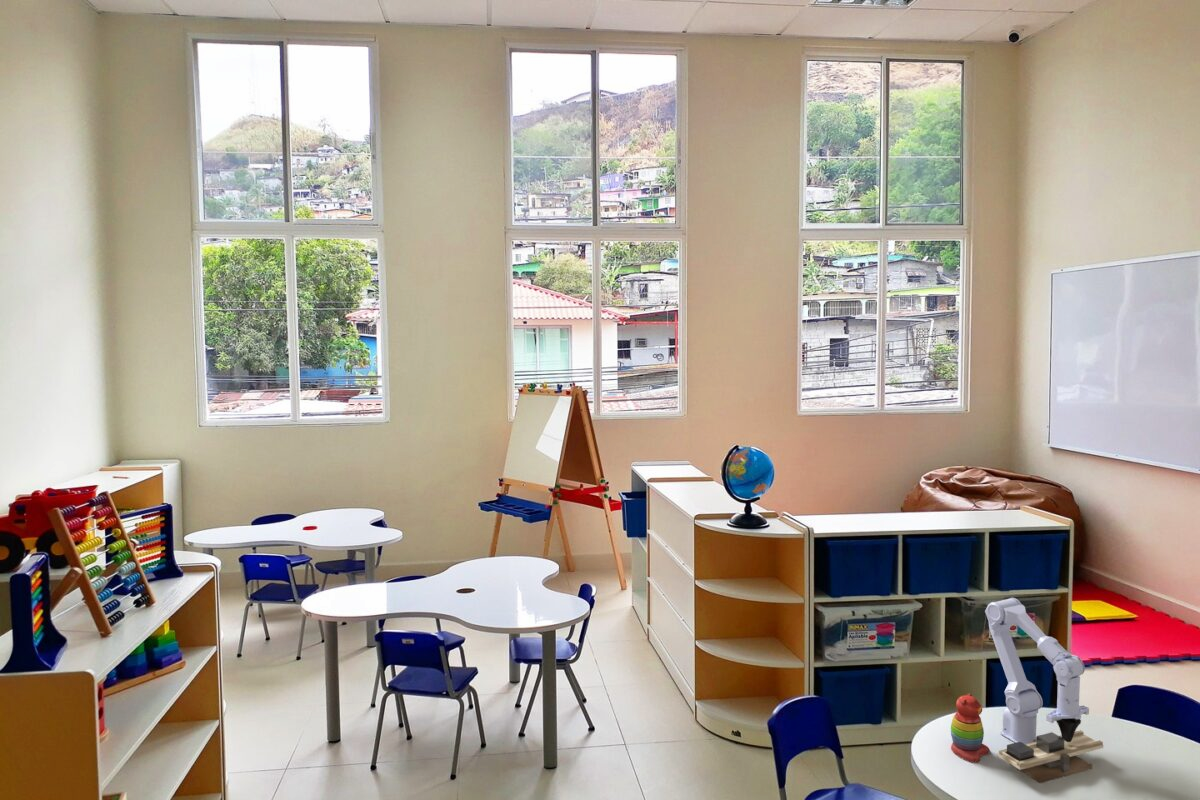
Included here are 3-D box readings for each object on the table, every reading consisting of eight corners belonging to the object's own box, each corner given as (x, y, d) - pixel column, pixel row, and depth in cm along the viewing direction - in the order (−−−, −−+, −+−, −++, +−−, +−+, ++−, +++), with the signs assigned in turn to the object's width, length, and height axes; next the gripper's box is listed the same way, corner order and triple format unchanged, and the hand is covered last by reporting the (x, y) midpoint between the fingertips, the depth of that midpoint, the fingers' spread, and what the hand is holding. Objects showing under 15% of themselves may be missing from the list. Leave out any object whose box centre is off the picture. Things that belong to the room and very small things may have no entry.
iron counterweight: (1006, 754, 250) (1006, 744, 250) (1019, 751, 252) (1020, 741, 252) (1020, 762, 246) (1020, 753, 245) (1033, 759, 247) (1033, 749, 247)
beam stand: (1009, 764, 255) (1010, 745, 254) (1060, 750, 262) (1061, 732, 261) (1040, 783, 245) (1040, 763, 244) (1092, 768, 251) (1092, 749, 251)
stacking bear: (976, 764, 256) (977, 708, 254) (943, 752, 263) (944, 697, 261) (992, 751, 263) (993, 696, 261) (960, 739, 270) (961, 686, 268)
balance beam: (998, 756, 251) (998, 750, 251) (1079, 735, 262) (1080, 730, 262) (1020, 769, 244) (1020, 763, 244) (1103, 747, 254) (1103, 742, 254)
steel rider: (1036, 747, 254) (1036, 736, 254) (1051, 743, 256) (1052, 732, 256) (1048, 754, 250) (1048, 743, 249) (1064, 750, 252) (1064, 739, 251)
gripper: (1060, 707, 247) (1059, 751, 248) (1098, 698, 252) (1097, 741, 253) (1041, 696, 254) (1039, 740, 255) (1078, 688, 258) (1076, 731, 260)
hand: (1066, 740), depth 255 cm, fingers closed
